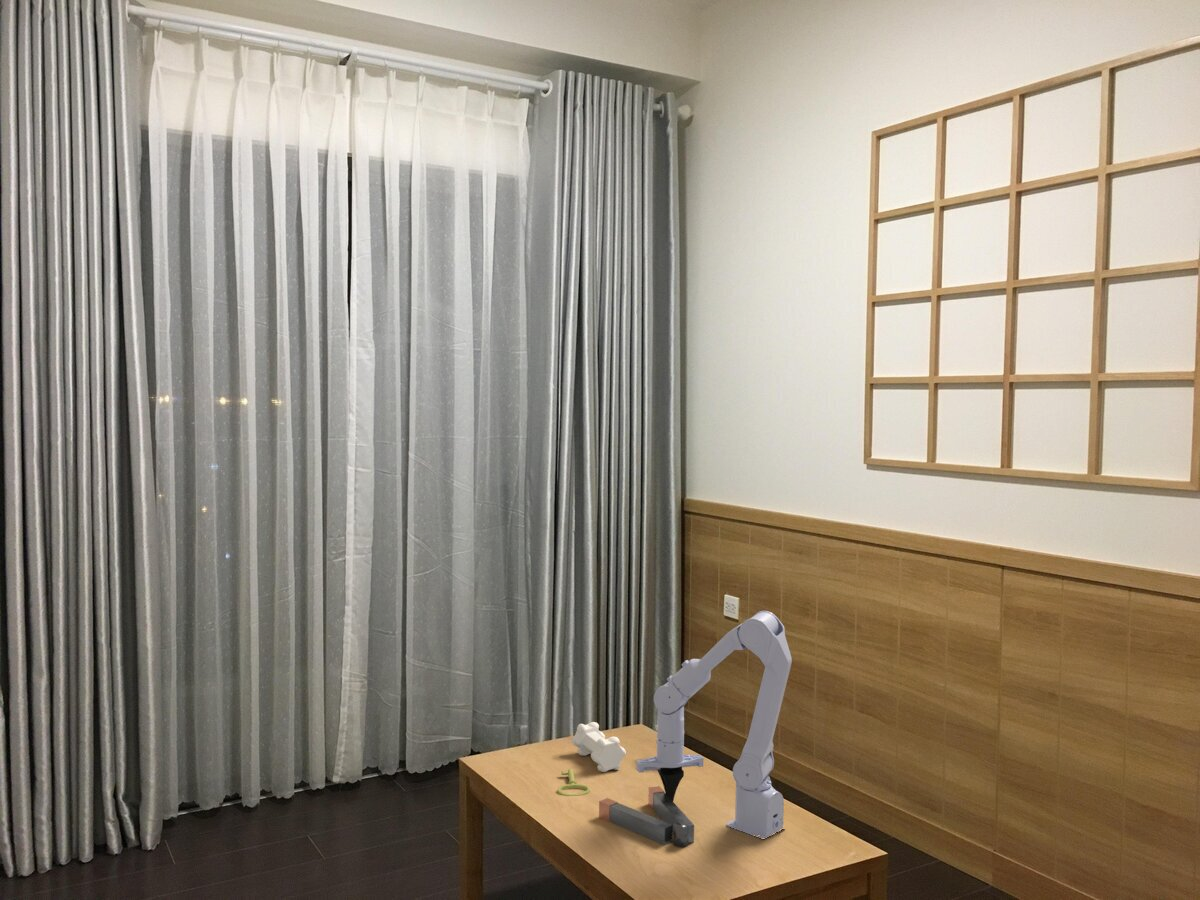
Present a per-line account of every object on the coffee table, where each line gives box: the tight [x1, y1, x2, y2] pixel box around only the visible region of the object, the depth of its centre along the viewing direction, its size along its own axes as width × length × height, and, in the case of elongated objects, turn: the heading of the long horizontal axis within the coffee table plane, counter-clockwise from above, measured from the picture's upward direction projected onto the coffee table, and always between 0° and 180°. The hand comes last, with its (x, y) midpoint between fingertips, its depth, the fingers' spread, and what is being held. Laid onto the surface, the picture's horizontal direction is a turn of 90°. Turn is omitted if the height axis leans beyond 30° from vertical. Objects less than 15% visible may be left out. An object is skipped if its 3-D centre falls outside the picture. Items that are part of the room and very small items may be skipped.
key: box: [557, 768, 591, 797], centre depth 219 cm, size 7×12×2 cm, turn 25°
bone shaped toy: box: [570, 721, 627, 773], centre depth 234 cm, size 15×9×8 cm, turn 25°
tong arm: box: [648, 786, 695, 848], centre depth 199 cm, size 21×4×4 cm, turn 17°
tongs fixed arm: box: [598, 797, 674, 846], centre depth 197 cm, size 18×2×4 cm, turn 46°
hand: (669, 801), depth 206 cm, fingers closed
